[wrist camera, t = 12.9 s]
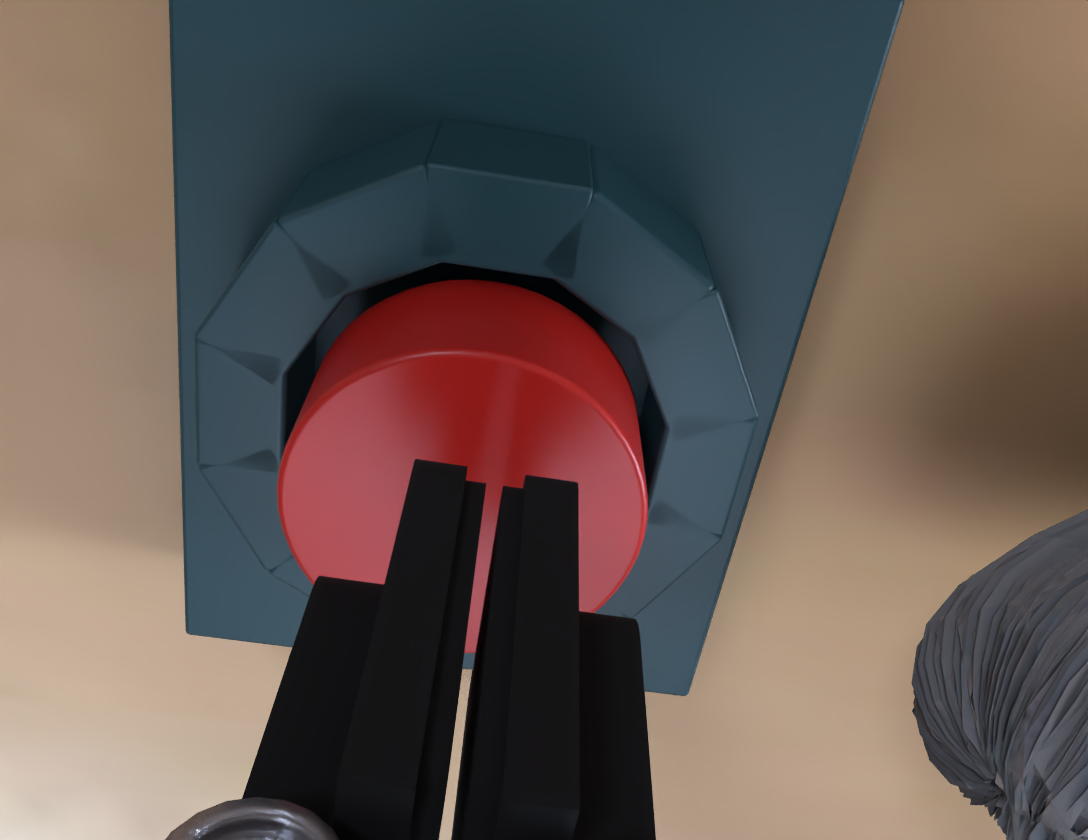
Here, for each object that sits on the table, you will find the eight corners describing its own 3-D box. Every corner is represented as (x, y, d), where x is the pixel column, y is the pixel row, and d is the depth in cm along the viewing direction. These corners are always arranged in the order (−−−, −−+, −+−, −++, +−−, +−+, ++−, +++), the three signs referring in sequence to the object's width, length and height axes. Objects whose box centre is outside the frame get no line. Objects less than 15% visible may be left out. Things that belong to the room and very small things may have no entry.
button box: (212, -141, 14) (96, -124, 10) (866, -26, 14) (963, 25, 11) (216, 564, 20) (144, 723, 16) (677, 623, 20) (700, 788, 17)
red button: (318, 251, 13) (279, 322, 11) (668, 304, 13) (686, 382, 11) (305, 535, 15) (270, 633, 13) (605, 575, 15) (610, 675, 13)
